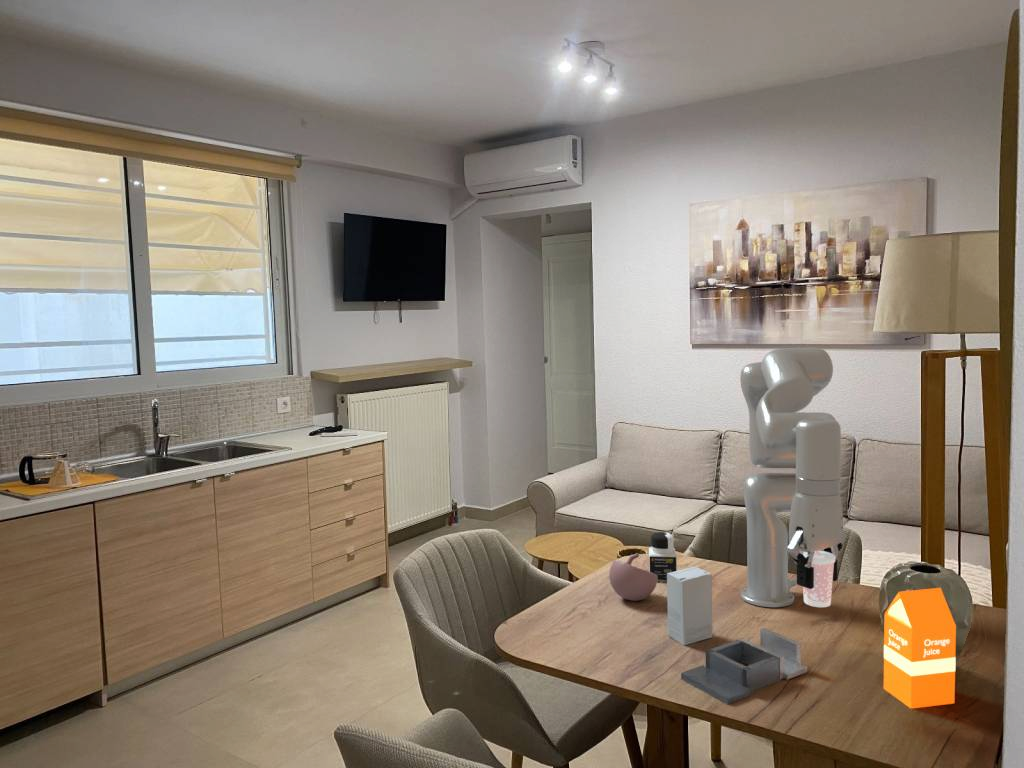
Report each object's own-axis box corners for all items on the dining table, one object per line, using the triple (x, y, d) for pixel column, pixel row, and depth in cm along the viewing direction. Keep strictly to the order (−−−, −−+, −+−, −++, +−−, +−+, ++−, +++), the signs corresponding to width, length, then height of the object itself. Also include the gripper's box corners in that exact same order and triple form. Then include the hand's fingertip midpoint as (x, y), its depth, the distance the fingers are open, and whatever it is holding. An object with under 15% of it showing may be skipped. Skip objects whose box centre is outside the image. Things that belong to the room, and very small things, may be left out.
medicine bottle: (649, 581, 202) (649, 537, 202) (649, 572, 210) (648, 530, 209) (676, 581, 201) (676, 538, 200) (675, 573, 208) (675, 530, 207)
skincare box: (696, 629, 170) (695, 565, 169) (714, 638, 165) (713, 572, 164) (666, 636, 167) (665, 571, 166) (683, 647, 161) (682, 579, 160)
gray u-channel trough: (758, 650, 158) (758, 625, 158) (807, 671, 148) (807, 645, 148) (735, 658, 155) (735, 633, 154) (783, 681, 144) (783, 654, 144)
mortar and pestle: (667, 599, 189) (667, 554, 188) (636, 611, 181) (635, 565, 181) (631, 587, 198) (630, 544, 197) (599, 598, 191) (599, 554, 190)
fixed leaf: (734, 659, 155) (734, 638, 154) (782, 682, 144) (782, 660, 144) (681, 678, 147) (680, 656, 147) (727, 704, 137) (727, 680, 136)
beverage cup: (817, 611, 135) (818, 534, 134) (792, 600, 140) (792, 526, 139) (842, 605, 137) (843, 530, 136) (816, 594, 143) (817, 522, 142)
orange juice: (955, 703, 135) (957, 595, 133) (911, 709, 134) (912, 599, 132) (924, 683, 143) (926, 580, 141) (882, 688, 141) (883, 584, 140)
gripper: (829, 476, 145) (828, 568, 146) (769, 489, 136) (768, 586, 137) (865, 483, 138) (864, 578, 140) (804, 497, 129) (804, 599, 131)
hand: (817, 581), depth 138 cm, fingers closed on beverage cup, 6 cm apart
